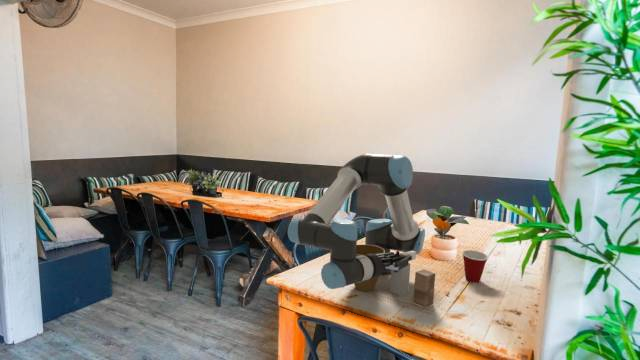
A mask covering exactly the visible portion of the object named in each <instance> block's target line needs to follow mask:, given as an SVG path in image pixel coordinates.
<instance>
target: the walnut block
mask: <svg viewBox="0 0 640 360" xmlns="http://www.w3.org/2000/svg"><path fill="white" fill-rule="evenodd" d="M435 281H436V273H435V272H431V270H430V271H429V270H426V269H420V270H417V271H415V275H414V286H413V287H414V289H413V290H414V291H413V300H412V301H413V304H414V305H416V306H418V307H421V308H423V309H427V308H429V307H432V306H434V295H435V285H436V284H435Z"/></svg>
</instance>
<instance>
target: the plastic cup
mask: <svg viewBox="0 0 640 360" xmlns="http://www.w3.org/2000/svg"><path fill="white" fill-rule="evenodd" d="M461 253H462V257H463V266H464V275H465V277H464V278H465V280H466V281H467V282H469V281H470V282H469V283H474V284H475V283H477V284H478V283H480V282H481V279H482V276H483V272H484V270H485V266H486V264H487V261H488V260H489V258H490V257H489V255H487V254H486V253H484V252H481V251H478V250H472V249H468V250H467V249H465V250H463V251H462V252H461Z"/></svg>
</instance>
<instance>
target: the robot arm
mask: <svg viewBox="0 0 640 360" xmlns="http://www.w3.org/2000/svg"><path fill="white" fill-rule="evenodd" d="M413 172H414V169H413V164H412V161H411V160H410V158H408V157H407V156H404V155H398V154H379V153H376V154H375V153H364V154H360V155H358V156H355V157H354V158H352V159H350V160H349V161H348V162H346V163H345V164H344V165H343V166H342V167H341V168H340V169H339V170H338V171H337V177H336V178H335V179H334V180H333V182H332V183H331V185H330V186H329V187H328V188H327V189H326V191H325V192H324V193H323V195H322V196H320V198H319V200H318V201H317V202H316V203H315V204H314V206H313V207H312V208H311V209H310V210H309V211H308V212H307V214H306V215H305V216H304V218H303V219H302V218H294V219H292V220H291V222H290V223H289V225H288V228H287V236H288V239H289V241H290V242H292V243H295V244H298V245H300V246H306V247H312V248H317V249H320V250H321V249H323V250H326V251H330V254H329V256H330V258H329V262H327V263H325V264H323V266H322V268H321V271H320V276H321V280H322V282H323V284H324V286H325V287H326V288H328V289H330V290H336V289H340V288H345V287H347V286H350V285H355V284H354V283H360V282H361V281H365V280H368V279H372V278H376V277H378V276H379V277H380V276H381V275H386V274H391V270H393V271H394V272H395V273H397V272H398V271H399V270H400V269H402V268H404V267H406V266H408V263H409V262H411V261H415V260H416V257H417V256H416V255H419V254H421V252H422V250H423V246H424V242H425V237H426V230H425V228H424V227H420V226H419V223H418V222H417V221H416V220H414V217H413V211H412V208H411V204H410V203H411V202H410V198H409V193H408V190H409V188H410V187H411V185H412V183H413V180H414V173H413ZM362 185H370V186H377V187H378V190H379V192H380V193H381V194H382V195H384V197H385V200H386V204H387V207H388V211H389V214H390V217H391V219H390V218H375V219H370V220H368V221H366V226H365V241H364V244H365V245H374V246H378V247H381V248H383V249H384V250H385V253H380V254H373V253H370V254H366V255H361V256H357V257H356V247H357V245H358V224H357V223H356V222H355V221H354V220H351V219H344V218H343V219H342V218H338V219H334V218H335V217H336V215H337V213H339V211H340V210H341V208H342V207H343V206H344V204H345V203H346V202H347V200H348V199H349V197H350V196H351V195H352V193H353V192H354V191H355V190H358V189H359V188H360V187H361V186H362ZM333 219H334V220H333ZM330 223H331V224H330ZM392 250H393V251H396V252H393V251H392ZM379 277H378V278H379Z"/></svg>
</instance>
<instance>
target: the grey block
mask: <svg viewBox="0 0 640 360" xmlns="http://www.w3.org/2000/svg"><path fill="white" fill-rule="evenodd" d="M410 273H411V263H408V266H406V267H404V268H402V269H400V270H399V271H398V272H397V273H395V272H394V271H393V270H391V273H390V275H391V276H390V285H389V286H390V288H389V291H390V292H391V293H393V294H395V295H397V296H399V297H400V296H403V295H406V294H407V295H408V294H409V288H410V287H409V286H410V277H411V276H410Z"/></svg>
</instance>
